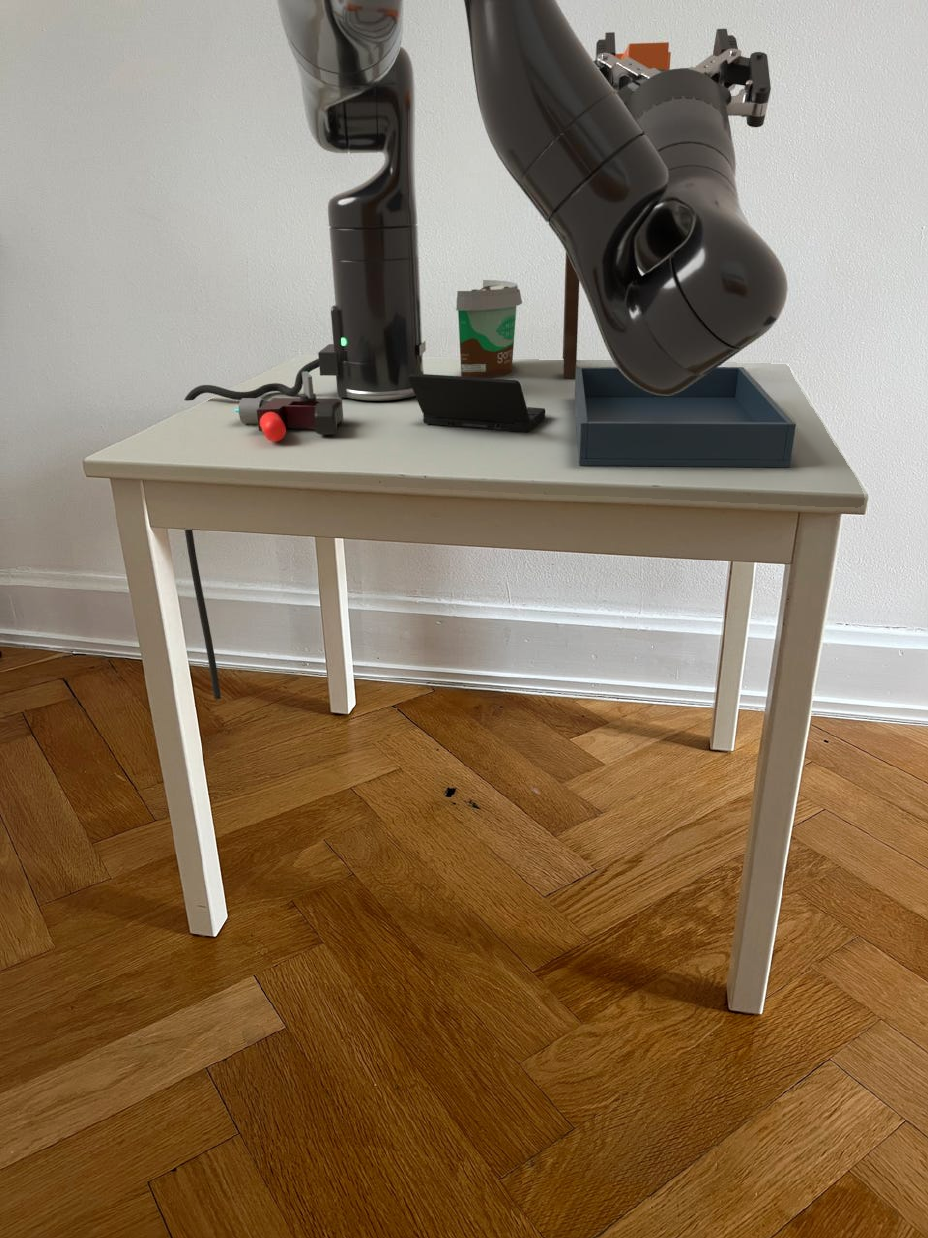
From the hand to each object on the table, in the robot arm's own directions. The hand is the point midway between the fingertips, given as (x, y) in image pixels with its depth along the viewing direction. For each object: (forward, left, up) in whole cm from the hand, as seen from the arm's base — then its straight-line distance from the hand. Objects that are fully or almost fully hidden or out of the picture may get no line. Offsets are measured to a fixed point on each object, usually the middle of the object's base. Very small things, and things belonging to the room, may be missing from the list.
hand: (663, 43), depth 71 cm
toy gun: (-34, -1, -31) cm, 46 cm away
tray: (+3, +1, -31) cm, 31 cm away
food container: (-15, +28, -31) cm, 45 cm away
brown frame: (0, +31, -31) cm, 44 cm away
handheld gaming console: (-15, +2, -31) cm, 35 cm away
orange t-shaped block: (0, +24, -1) cm, 24 cm away
